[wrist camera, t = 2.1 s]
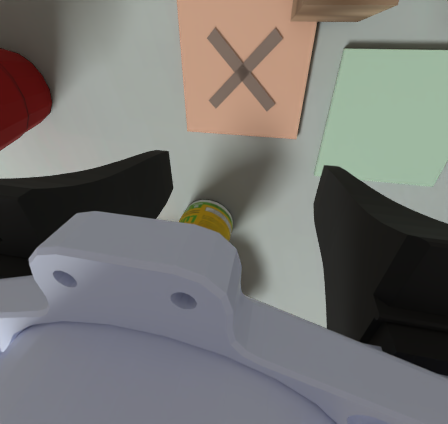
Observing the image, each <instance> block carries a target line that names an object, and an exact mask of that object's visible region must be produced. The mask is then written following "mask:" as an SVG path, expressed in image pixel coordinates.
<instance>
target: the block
mask: <svg viewBox="0 0 448 424" xmlns="http://www.w3.org/2000/svg"><path fill="white" fill-rule="evenodd" d="M398 2H399V0H293V5H292V13H291V21H307V22H358V21H361V20H363V19H366V18H368V17H370V16H373V15H375V14H377V13H380V12H382V11H384V10H387V9H389V8H391V7H394V6H396V5H398Z"/></svg>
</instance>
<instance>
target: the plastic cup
mask: <svg viewBox="0 0 448 424" xmlns="http://www.w3.org/2000/svg"><path fill="white" fill-rule="evenodd" d="M51 106H52V100H51V95H50V90H49V88H48V86H47V84H46V82H45V80H44V78H43V76H42V75H41V73H40V72H39V71H38V70H37V69H36V68H35V66H34V65H33V64H32V63H31V62H30V61H28V60H27V59H25V58H24V57H23V56H21V55H20V54H18V53H15V52H11V51H8V50H5V49H1V48H0V151H1V150H2V149H4V148H5V147H6V146H8V145H9V144H11V143H12V142H14V141H15V140H17V139H18V138H20V137H21V136H22V135H23V134H24V133H25V132H27V131H28V130H30V129H31V128H33V127H34V126H36V125H38V124H39V123H41V122H42V121H43V120H44V119H45V118H46V117H47V115H48V114H49V113H50V111H51Z"/></svg>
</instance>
